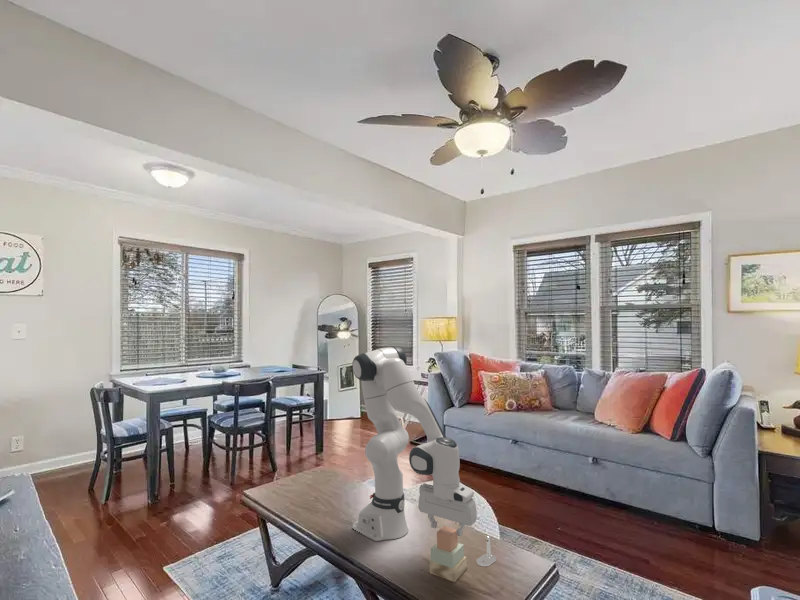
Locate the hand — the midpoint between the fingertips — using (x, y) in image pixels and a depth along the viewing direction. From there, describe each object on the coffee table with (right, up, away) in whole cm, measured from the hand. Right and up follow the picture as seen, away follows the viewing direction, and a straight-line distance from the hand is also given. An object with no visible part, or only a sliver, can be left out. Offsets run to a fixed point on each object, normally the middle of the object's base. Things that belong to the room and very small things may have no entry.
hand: (446, 531), depth 144 cm
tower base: (+1, -13, -1) cm, 13 cm away
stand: (+14, -13, +4) cm, 19 cm away
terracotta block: (0, -5, 0) cm, 5 cm away
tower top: (0, -9, -1) cm, 9 cm away
